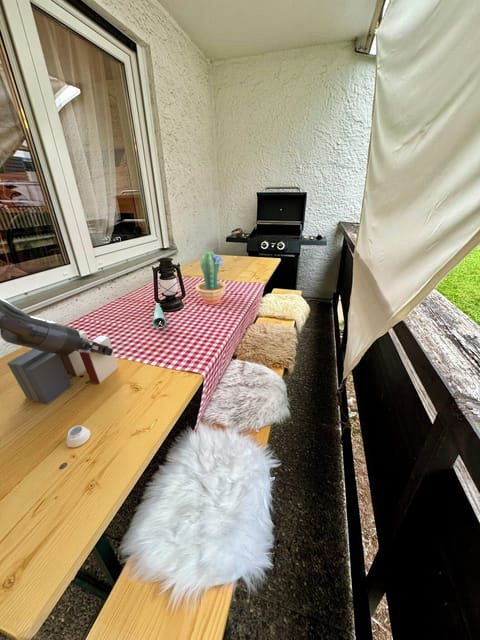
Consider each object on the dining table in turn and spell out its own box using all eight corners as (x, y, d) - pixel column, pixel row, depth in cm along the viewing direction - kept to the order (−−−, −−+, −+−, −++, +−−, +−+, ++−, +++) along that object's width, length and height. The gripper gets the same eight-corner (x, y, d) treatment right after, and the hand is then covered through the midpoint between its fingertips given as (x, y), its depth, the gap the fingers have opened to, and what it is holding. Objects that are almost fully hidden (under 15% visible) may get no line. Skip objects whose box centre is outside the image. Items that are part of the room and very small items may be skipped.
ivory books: (63, 373, 83) (49, 342, 78) (84, 359, 90) (72, 329, 84) (76, 377, 82) (63, 345, 76) (96, 361, 89) (86, 331, 83)
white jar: (77, 428, 64) (62, 446, 60) (73, 420, 63) (57, 438, 59) (95, 431, 63) (81, 450, 59) (92, 423, 62) (77, 441, 58)
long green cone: (161, 293, 128) (165, 316, 106) (163, 303, 131) (167, 328, 108) (150, 294, 127) (151, 318, 104) (152, 304, 129) (153, 330, 107)
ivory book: (90, 381, 80) (78, 349, 74) (110, 365, 86) (100, 335, 81) (99, 384, 79) (87, 351, 73) (118, 367, 86) (108, 336, 80)
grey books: (26, 397, 74) (6, 361, 68) (51, 379, 81) (35, 345, 75) (47, 404, 72) (28, 367, 66) (72, 385, 78) (57, 349, 72)
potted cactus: (209, 310, 123) (204, 257, 111) (191, 300, 133) (185, 252, 121) (233, 300, 132) (231, 251, 120) (214, 292, 142) (211, 246, 130)
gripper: (81, 327, 64) (124, 342, 79) (38, 319, 68) (87, 335, 83) (69, 357, 62) (116, 366, 77) (26, 347, 66) (79, 358, 81)
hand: (101, 350), depth 80 cm, fingers open, 7 cm apart
